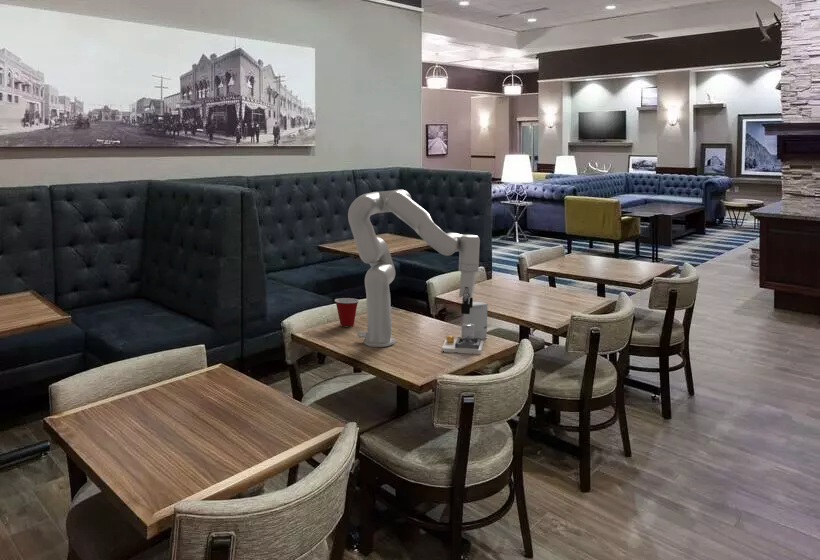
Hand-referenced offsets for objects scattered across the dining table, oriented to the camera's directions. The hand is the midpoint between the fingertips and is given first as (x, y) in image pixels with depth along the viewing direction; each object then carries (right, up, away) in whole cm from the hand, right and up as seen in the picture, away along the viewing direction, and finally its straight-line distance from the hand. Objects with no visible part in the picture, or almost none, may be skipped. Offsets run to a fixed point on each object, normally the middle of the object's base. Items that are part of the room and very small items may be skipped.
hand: (466, 310), depth 243 cm
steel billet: (+1, -13, +3) cm, 14 cm away
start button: (-6, -13, +6) cm, 15 cm away
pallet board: (-1, -15, +3) cm, 15 cm away
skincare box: (+5, -12, +16) cm, 21 cm away
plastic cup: (-50, -9, +36) cm, 62 cm away
